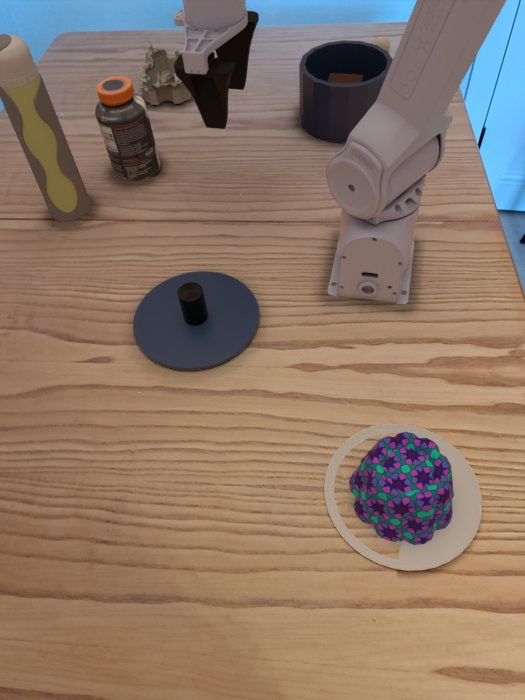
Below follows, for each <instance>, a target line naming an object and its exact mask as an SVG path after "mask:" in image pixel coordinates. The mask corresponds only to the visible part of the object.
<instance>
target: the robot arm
mask: <svg viewBox="0 0 525 700" xmlns="http://www.w3.org/2000/svg"><path fill="white" fill-rule="evenodd" d="M506 2H507V0H416V1H415V4H414V6H413V9H412V11H411V14H410V16H409V19H408V21H407V23H406V26H405V29H404V31H403V33H402V36H401V39H400V41H399V43H398V46H397V48H396V51H395V53H394V56H393V57H392V59H393V61H392V63H391V66H390V68H389V71H388V73H387V76H386V78H385V80H384V83H383V85H382V88H381V90H380V93H379V95H378V98H377V100H376V102H375V103H374V104H373V106H372V107H371V108H370V109H369V110H368V112H367V113H366V114H365V115H364V117H363V118H362V119H361V120H360V121H359V123H358V124H357V125H356V126H355V128H354V129H353V130H352V131H351V133H350V134H349V136H348V139H347V142H345V143H344V146H343V147H342V148H341V149H340V150H337V152H335V153H333V155H331V157H330V158H329V159H328V161H327V164H326V168H325V178H326V184H327V187H328V190H329V193H330V195H331V197H332V199H333V200H334V201H335V203H336V204H337V205H338V206H339V207H340V208H341V210H340V211H341V212H340V225H339V226H340V227H339V229H340V230H339V235H338V241H337V245H336V250H335V254H334V258H333V263H332V268H331V273H330V276H329V281H328V286H327V290H326V291H327V294H328V295H330V296H335V297H343V298H351V299H358V300H359V299H360V300H366V301H367V300H368V301H375V302H384V303H391V304H399V305H406V304H408V303H409V298H410V288H411V279H412V269H413V260H414V250H415V240H414V236H415V231H416V226H417V221H418V216H419V211H420V205H421V201H422V197H423V188H424V187H425V183H426V179H427V174H429V173H431V172H432V171H433V170H434V169H436V168H437V167H438V166H439V165H440V163H441V162H442V160H443V158H444V155H445V150H446V136H447V131H448V129H449V127H450V125H451V123H452V122H453V121H454V117H453V115H452V113H451V112H450V110H449V109H448V108H449V106H450V104H451V103H452V102H453V99H454V97H455V95H456V94H457V92H458V90H459V88H460V86H461V84H462V83H463V80H464V79H465V77H466V75H467V73H468V72H469V70H470V68H471V66H472V65H473V62H474V61H475V59H476V57H477V55H478V54H479V51H480V49H481V48H482V46H483V44H484V43H485V41H486V39H487V37H488V35H489V33H490V32H491V29H492V28H493V26H494V24H495V22H496V21H497V19H498V17H499V15H500V13H501V12H502V9H503V8H504V6H505V4H506ZM182 5H183V9H179V10H177V12H176V13H175V15H174V16H173V21H174V25H175V26H177V27H183V32H184V47H183V49H182V51H181V53H182V55H179V57H178V58H177V60H176V61H175V63H174V70H175V74H176V76H177V77H178V78H179V79H180V80H181V81H182V83H183V84H184V85H185V86H186V88H187V89H188V91H189V92H190V94H191V98H192V99H193V100H194V102H195V105H196V107H197V110H198V111H199V114H200V116H201V119H202V121H203V123H204V126H205V127H206V128H208V129H219V130H224V129H226V127H227V124H228V118H229V92H230V90H239V91H240V90H241V91H244V89H245V87H246V84H247V76H248V69H249V67H248V66H249V58H250V51H251V46H252V42H253V37H254V34H255V30H256V28H257V25H258V23H259V21H260V15H259V13H258V12H256V11H254V10H248V9H247V0H182ZM334 283H335V285H332V284H334ZM403 292H405V294H403Z"/></svg>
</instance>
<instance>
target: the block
mask: <svg viewBox="0 0 525 700" xmlns="http://www.w3.org/2000/svg"><path fill="white" fill-rule="evenodd" d="M363 77H364V75H356V74H338V73H330V75H329V78H328V81H327V82H330V83H341V84H352V83H359V82H363Z"/></svg>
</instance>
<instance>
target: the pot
mask: <svg viewBox="0 0 525 700" xmlns="http://www.w3.org/2000/svg"><path fill="white" fill-rule="evenodd" d="M370 43H371V42H367V41H362V40H346V39H345V40H343V39H342V40H335V41H329V42H324V43H322V44H320V45H317V46H314V47H312V48H310V49H309V50H308V51H307V52H306V53H304V54H303V55H302V57H301V59H300V61H299V64H298V66H299V67H298V71H299V72H298V73H299V75H298V77H299V79H298V80H299V81H298V83H299V87H298V88H299V119H300V124H301V126H302V128H303V129H304V130H305V131H306V132H307V133H308V134H309V135H311V136H313V137H314V138H317V139H319V140H322V141H325V142H329V143H330V142H331V143H342V144H343V143H344V144H345V143H346V142H347V139H348V136H349V134H350V133H351V131H352V130H353V129H354V128H355V126H356V125H357V124H358V123H359V121H360V120H361V119H362V118H363V117H364V115H365V114H366V113H367V112H368V110H369V109H370V108H371V107H372V106H373V104H374V103H375V102H376V100H377V98H378V95H379V93H380V90H381V88H382V85H383V83H384V80H385V78H386V76H387V73H388V71H389V68H390V66H391V63H392V61H393V57H392V56H391V54H390V53H389V52H387V51H386V50H384V49H382V48H381V47H379V46H377V45H374V44H370ZM330 73H338V74H356V75H364V77H363V82H359V83H352V84H341V83H330V82H327V81H328V78H329V75H330Z"/></svg>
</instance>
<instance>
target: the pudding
mask: <svg viewBox="0 0 525 700" xmlns="http://www.w3.org/2000/svg"><path fill="white" fill-rule="evenodd" d="M385 434H387V436H384V437H382V438H380V439H378V440H377V442H376V443H375V444H374V445H373V446H372V447H371V448H370V450H368V452H367V453H366V454H365V455H364V456H363V458H361V460H360V464H359V465H358V467H357V468H356V469H355V470H354V471H353V472H352V475H351V476H350V479H349V482H348V483H349V490H350V492H351V493H352V494H353V496H354V497H355V499H354V502H353V505H352V507H353V510H354V512H355V515H356V517H357V518H358V519H359V520H360V521H361V522H362V523H364V524H367V525H372V527H373V529H374V531H375V533H376V535H377V536H378V537H380V538H381V539H383V540H385V541H389V542H394V543H396V542H398V541H399V543H398V553H397V554H398V555H397V558H393V557H389V556H387V555H383V554H381V553H379V552H377V551H375V550H373V549H371V548H369V547H368V546H366V545H365V544H364V543H363V542H361V541H360V540H359V539H358V538H357V537H356V536H355V535H354V534H353V533H352V532H351V531H350V530H349V528H348V527H347V525H346V524H345V522H344V521H343V518H342V515H341V514H340V512H339V509H338V506H337V502H336V495H335V493H336V492H335V484H336V477H337V474H338V471H339V468H340V466H341V464H342V462H343V460H344V459H345V457H346V456H347V455H348V454H349V453H350V452H351V450H353V449H354V448H355V447H356V446H357V445H360V444H361V443H362V442H364V441H365V440H369V439H371V438H373V437H376V436H381V435H385ZM388 434H396V435H395V436H390V435H388ZM325 471H326V472H325V475H324V483H323V492H324V493H323V495H324V501H325V505H326V509H327V513H328V515H329V517H330V519H331V522H332V524H333V526H334V528H335V529H336V530H337V532H338V533H339V534H340V537H341V538H342V539H344V541H346V543H347V544H348V545H349V546H350V547H351V548H352V549H354V550H355V551H356V552H357V553H359V554H360V555H362V556H363V557H365V558H366V559H368V560H370V561H372V562H374V563H376V564H378V565H381V566H383V567H387V568H390V569H395V570H400V571H401V570H402V571H410V572H411V571H424V570H430V569H434V568H437V567H441V566H442V565H445V564H447V563H449V562H451V561H453V560H454V559H456V557H458V556H460V555H461V554H462V553H464V551H465V550H466V549H467V548H468V547H469V545H470V544H471V543H472V541H473V540H474V537H476V534H477V532H478V529H479V527H480V524H481V521H482V514H483V513H482V512H483V498H482V492H481V491H482V490H481V487H480V483H479V480H478V478H477V476H476V474H475V471H474V469H473V468H472V467H471V465H470V463H469V461H468V460H467V458H466V457H464V455H463V454H462V453H461V452H460V450H458V449H457V448H456V447H455V446H454V445H453V444H451V442H449V441H448V440H447V439H445V438H444V437H443V436H440V435H438V434H437V433H435V432H432V431H431V430H428V429H426V428H423V427H421V426H417V425H413V424H408V423H398V422H395V423H394V422H393V423H381V424H376V425H371V426H368V427H366V428H364V429H361V430H359V431H357V432H355V433H354V434H352V435H350V436H349V437H348V438H347V439H346V440H344V441H343V442H342V443H341V444H340V445H339V446H338V447H337V449H335V451H334V453H333V455H332V456H331V459H330V461H329V463H328V464H327V467H326V470H325Z"/></svg>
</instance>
